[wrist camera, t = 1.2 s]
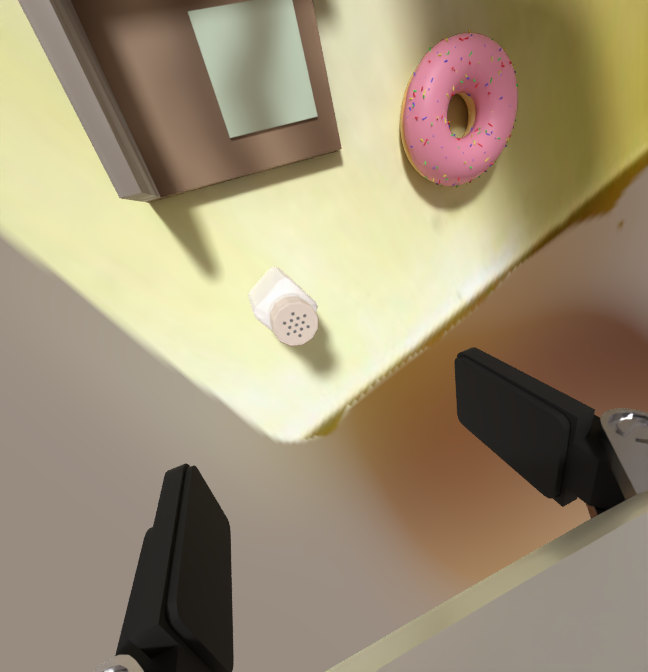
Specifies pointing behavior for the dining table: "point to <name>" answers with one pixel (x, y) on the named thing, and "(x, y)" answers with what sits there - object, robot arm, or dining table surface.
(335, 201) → the dining table surface
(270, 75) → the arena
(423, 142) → the doughnut
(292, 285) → the salt shaker
